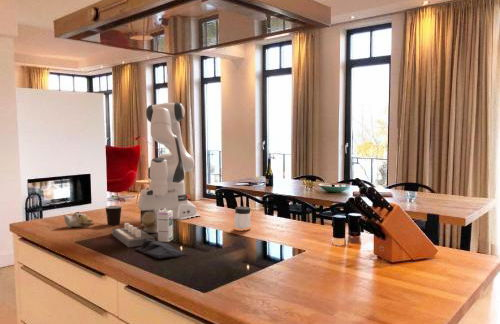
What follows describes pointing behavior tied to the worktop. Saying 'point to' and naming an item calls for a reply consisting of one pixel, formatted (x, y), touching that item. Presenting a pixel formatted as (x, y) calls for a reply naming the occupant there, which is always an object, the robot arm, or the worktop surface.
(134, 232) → the breaker paddles
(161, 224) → the syrup box
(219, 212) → the worktop surface
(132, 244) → the breaker panel
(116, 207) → the coffee mug
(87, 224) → the ceramic sculpture
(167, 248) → the dark slate chunk
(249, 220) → the jar
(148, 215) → the coffee box
